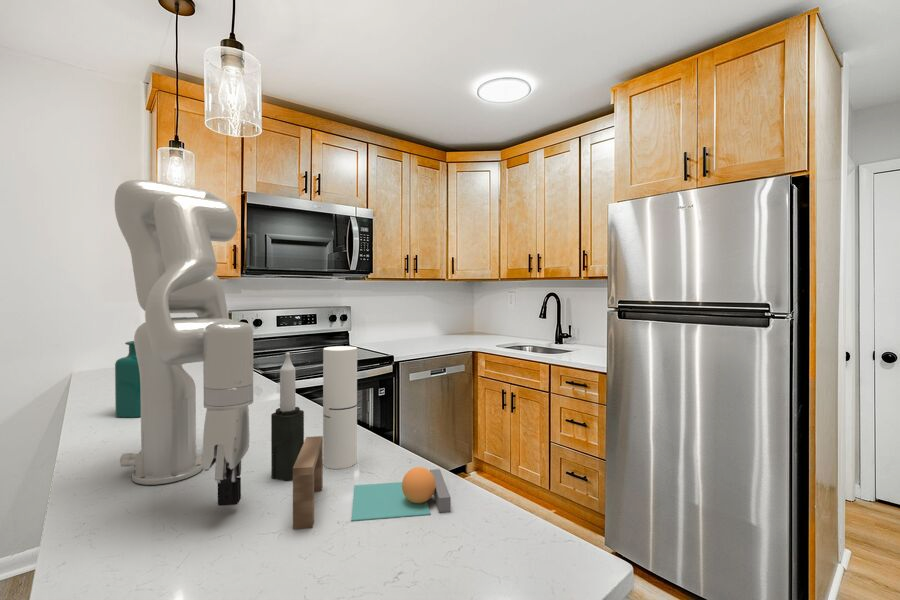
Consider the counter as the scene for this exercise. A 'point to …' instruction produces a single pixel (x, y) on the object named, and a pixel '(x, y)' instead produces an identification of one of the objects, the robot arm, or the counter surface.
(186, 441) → the robot arm
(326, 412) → the cylindrical container
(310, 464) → the bridge
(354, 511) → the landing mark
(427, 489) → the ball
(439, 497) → the wall
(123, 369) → the teal green bottle
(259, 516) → the counter surface
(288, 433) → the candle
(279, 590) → the counter surface
